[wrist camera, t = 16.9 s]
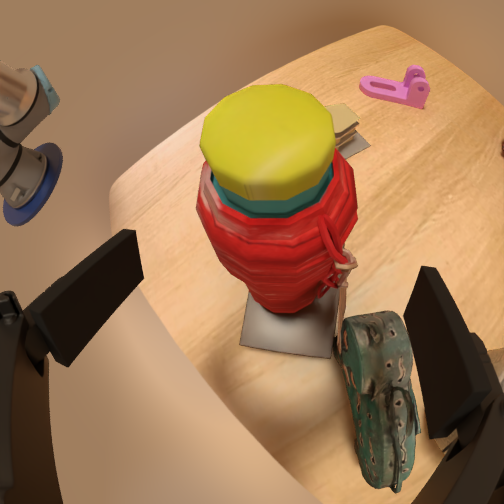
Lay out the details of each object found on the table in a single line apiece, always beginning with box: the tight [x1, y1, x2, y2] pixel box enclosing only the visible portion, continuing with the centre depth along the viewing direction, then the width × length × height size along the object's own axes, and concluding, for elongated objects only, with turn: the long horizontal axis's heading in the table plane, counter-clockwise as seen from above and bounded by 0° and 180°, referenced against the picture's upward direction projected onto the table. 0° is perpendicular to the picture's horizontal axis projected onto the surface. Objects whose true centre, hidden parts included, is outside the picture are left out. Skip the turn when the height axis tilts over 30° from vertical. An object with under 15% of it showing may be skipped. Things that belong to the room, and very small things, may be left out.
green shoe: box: [333, 311, 421, 493], centre depth 23 cm, size 20×6×20 cm, turn 12°
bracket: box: [359, 65, 430, 109], centre depth 42 cm, size 13×6×7 cm, turn 79°
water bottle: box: [196, 84, 358, 345], centre depth 19 cm, size 12×8×25 cm, turn 42°
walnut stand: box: [239, 243, 345, 359], centre depth 34 cm, size 10×14×6 cm
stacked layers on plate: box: [324, 103, 371, 159], centre depth 41 cm, size 10×9×6 cm
